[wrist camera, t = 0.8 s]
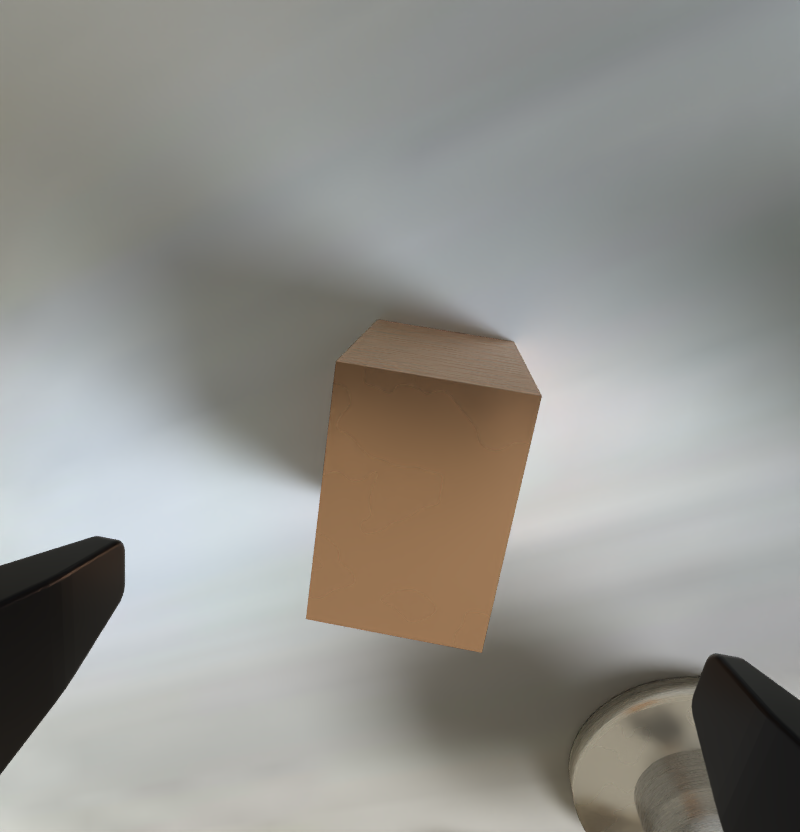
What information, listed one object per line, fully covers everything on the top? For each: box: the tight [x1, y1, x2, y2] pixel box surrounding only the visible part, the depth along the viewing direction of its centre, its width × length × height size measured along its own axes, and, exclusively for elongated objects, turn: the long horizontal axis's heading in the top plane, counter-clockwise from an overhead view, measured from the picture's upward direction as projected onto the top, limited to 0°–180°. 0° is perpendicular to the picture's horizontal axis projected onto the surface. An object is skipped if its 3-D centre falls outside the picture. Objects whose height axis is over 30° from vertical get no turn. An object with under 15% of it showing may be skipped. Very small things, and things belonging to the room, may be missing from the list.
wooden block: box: [306, 320, 542, 653], centre depth 15 cm, size 4×6×6 cm, turn 172°
